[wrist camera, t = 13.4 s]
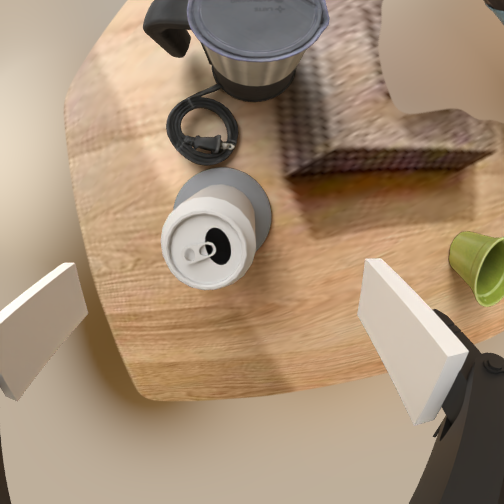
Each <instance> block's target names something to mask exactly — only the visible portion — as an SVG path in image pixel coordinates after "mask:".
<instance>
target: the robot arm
mask: <svg viewBox="0 0 504 504" xmlns="http://www.w3.org/2000/svg"><path fill="white" fill-rule="evenodd" d="M484 1H485V4H486V6H487V7H488V8H489V9H490V10H492V11H493V12H494V13H495V15H496V16H497V17H498V18H499V19H500V21H501V22H502V24H503V25H504V0H484ZM87 314H88V311H87V307H86V304H85V300H84V297H83V293H82V289H81V286H80V281H79V278H78V273H77V269H76V264H75V263H63V264H61V265H60V266H58V267H57V268H56V269H54V270H53V271H51V272H50V273H49V274H47V275H46V276H45V277H43V278H42V279H41V280H40V281H38V282H37V283H35V284H34V285H33V286H31V288H29V289H28V290H26V291H25V292H24V293H22V294H21V295H20V296H19V297H17V298H16V299H15V300H14V301H12V302H11V303H10V304H9V305H8V306H6V307H5V308H4V309H3V310H2V311H0V388H1V389H2V391H3V392H4V394H5V396H7V397H9V398H11V399H13V400H15V401H18V400H19V399H20V398H21V396H22V395H23V393H24V392H25V391H26V389H27V388H28V387H29V385H30V384H31V383H32V381H33V380H34V379H35V377H36V376H37V375H38V374H39V372H40V371H41V370H42V368H43V367H44V366H45V365H46V363H47V362H48V361H49V360H50V358H51V357H52V356H53V354H54V353H55V352H56V351H57V350H58V348H59V347H60V346H61V345H62V344H63V342H64V341H65V340H66V339H67V338H68V336H69V335H70V334H71V333H72V332H73V330H74V329H75V328H76V327H77V326H78V324H79V323H80V322H81V321H82V320H83V319H84V318H85V316H86V315H87ZM357 315H358V317H359V319H360V321H361V323H362V324H363V326H364V328H365V330H366V332H367V334H368V335H369V337H370V339H371V341H372V343H373V345H374V347H375V348H376V350H377V352H378V354H379V356H380V358H381V360H382V362H383V364H384V366H385V368H386V370H387V371H388V373H389V375H390V377H391V379H392V381H393V383H394V385H395V387H396V389H397V391H398V393H399V396H400V398H401V399H402V402H403V404H404V406H405V408H406V410H407V412H408V414H409V416H410V418H411V420H412V423H413V425H414V426H415V425H418V424H422V423H425V422H429V421H432V420H434V419H435V417H436V416H437V414H438V412H439V410H440V409H441V407H442V408H443V410H444V412H445V414H446V416H445V418H444V419H443V421H442V423H441V424H440V426H439V427H438V429H437V430H436V432H435V434H434V435H433V437H436V436H437V434H438V436H437V439H436V442H435V444H434V447H433V450H432V453H431V455H430V458H429V461H428V463H427V465H426V468H425V470H424V472H423V475H422V477H421V479H420V482H419V484H418V486H417V488H416V490H415V492H414V494H413V496H412V498H411V500H410V502H409V504H504V358H502V357H501V356H499V355H496V354H494V353H483V354H481V353H480V351H479V350H478V349H477V348H476V347H475V346H474V345H473V343H472V342H471V341H470V340H469V339H468V338H467V337H466V336H465V335H464V333H463V332H461V330H460V329H459V328H458V327H457V326H455V325H454V323H453V322H452V321H451V320H450V318H449V317H448V316H447V315H445V314H443V313H441V312H440V311H438V310H436V309H433V310H432V309H431V308H430V307H429V306H428V305H427V304H426V303H425V302H424V301H423V300H422V299H421V298H420V297H419V296H418V294H417V293H416V292H415V291H414V290H413V289H412V288H411V287H410V286H409V285H408V284H407V283H406V282H405V281H404V280H403V279H402V278H401V277H400V276H399V275H398V274H397V273H396V272H395V271H394V270H393V269H392V268H391V267H390V266H389V265H387V264H386V263H385V262H384V261H383V260H382V259H381V258H377V259H365V265H364V273H363V280H362V287H361V294H360V301H359V307H358V313H357ZM0 504H11V501H10V496H9V492H8V487H7V482H6V477H5V470H4V464H3V456H2V447H1V437H0Z"/></svg>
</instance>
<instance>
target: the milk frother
mask: <svg viewBox="0 0 504 504" xmlns="http://www.w3.org/2000/svg"><path fill="white" fill-rule="evenodd" d="M328 24H329V15H328V11H327V6H326V2H325V0H154V1H153V2H152V4H151V6H150V7H149V9H148V12H147V14H146V17H145V20H144V24H143V29H144V31H145V33H146V34H147V35H149V36H150V37H151V38H152V39H153V40H154V41H155V42H156V43H158V44H159V45H160V46H161V47H162V48H163V49H164V50H166V51H167V52H168V53H169V54H170V55H171V56H173V57H178V58H181V57H184V56H185V54H186V52H187V50H188V48H189V44H190V40H191V37H190V35H189V33H188V31H187V30H192V31H193V33H194V34H195V36H196V37H197V39H198V40H199V41H200V42H201V44H202V47H203V49H204V51H205V54H206V56H207V58H208V61H209V64H211V65H212V72H213V76H214V78H215V80H216V82H217V84H216V85H214V86H212V87H210V88H208V89H206V90H203V91H201V92H198V93H196V94H194V95H193V96H190V97H188V98H187V99H185V100H183V101H181V102H180V103H178V104H177V105H176V106H175V107H174V108H173V109H172V111H171V112H170V114H169V116H168V119H167V124H166V129H167V135H168V137H169V139H170V141H171V143H172V144H173V146H174V147H175V148H176V150H177V151H178V152H179V153H180V154H181V155H183V156H184V157H185V158H186V159H188V160H190V161H191V162H194V163H196V164H200V165H214V164H218V163H220V162H222V161H224V160H225V159H227V158H228V157H229V156H230V154H231V153H232V152H233V150H234V149H235V146H236V143H237V138H238V126H237V122H236V120H235V119H234V117H233V115H232V113H231V112H230V111H229V109H228V108H227V107H225V106H224V105H223V104H221V103H220V102H218V101H216V100H213V99H209V98H203V97H201V96H203V95H206V94H208V93H212V92H214V91H217V90H219V89H222V90H223V91H224V92H226V93H227V94H229V95H230V96H232V97H234V98H236V99H239V100H243V101H248V102H261V101H266V100H269V99H272V98H274V97H276V96H278V95H280V94H281V93H282V92H284V91H285V90H286V89H287V88H288V86H289V85H290V84H291V82H292V80H293V78H294V75H295V69H296V67H297V65H298V63H299V61H300V60H301V58H302V56H303V55H304V53H305V51H306V50H307V48H309V47H310V46H311V45H312V44H313V43H314V42H315V41H317V39H318V38H319V36H320V35H321V33H322V32H323V31H324V30H325V29H326V27H327V26H328ZM186 29H187V30H186ZM196 108H206V109H209V110H211V111H213V112H215V113H216V114H217V115H218V116H219V117H220V118H221V119H222V120H223V122H224V123H225V126H226V128H227V134H228V139H227V142H222V141H221V136H220V135H217V136H215V137H200V136H196V137H190V136H185V135H184V134H183V133H182V131H181V121H182V119H183V117H184V116H185V115H186V114H187V113H188V112H189V111H191V110H193V109H196ZM192 146H193V147H194V148H193V147H192ZM197 148H200V149H204V150H209V151H211V154H205V153H202V152H199V151H196V149H197Z"/></svg>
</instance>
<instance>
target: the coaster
mask: <svg viewBox="0 0 504 504" xmlns="http://www.w3.org/2000/svg"><path fill="white" fill-rule="evenodd" d="M220 184H224V185H228V186H232V187H235V188H236V189H238V190H240V191H241V192H243V193H244V194H245V195H246V197H247V198H248V199H249V200H250V202H251V204H252V207H253V209H254V213H255V235H256V251H257V250H258V249H259V248H260V247H261V245H262V244H263V243H264V241H265V239H266V237H267V235H268V232H269V230H270V225H271V208H270V204H269V201H268V198H267V196H266V194H265V192H264V190H263V189H262V187H261V186H260V185H259V184H258V182H257V181H256V180H254V179H253V178H252V177H251V176H249V175H248V174H246V173H244V172H242V171H239V170H236V169H233V168H226V167H219V168H212V169H208V170H205V171H202V172H200V173H198V174H196V175H195V176H193V177H192V178H191V179H189V180H188V181H187V182H186V183H185V184H184V186H183V187H182V188H181V190H180V191H179V193H178V195H177V198H176V200H175V204H174V209H173V211H174V210H175V209H176V208H177V207H178V206H179V205H180V204H181V203H183V202H184V201H186V200H187V199H189V198H190V197H191V196H193V195H194V194H196V193H197V192H199V191H200V190H202V189H204V188H206V187H209V186H211V185H220ZM256 251H255V252H256Z"/></svg>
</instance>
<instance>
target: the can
mask: <svg viewBox="0 0 504 504" xmlns="http://www.w3.org/2000/svg"><path fill="white" fill-rule="evenodd" d="M161 247H162V253H163V257H164V259H165V261H166V263H167V265H168V267H169V269H170V271H171V272H172V273H173V274H174V275H175V276H176V278H177V279H178V280H179V281H181V282H183V283H184V284H186V285H188V286H190V287H192V288H196V289H200V290H216V289H220V288H223V287H225V286H228V285H231V284H233V283H235V282H236V281H237V280H239V279H240V278H241V277H243V276H244V275H245V273H246V272H247V270H248V269H249V267H250V266H251V264H252V262H253V258H254V255H255V251H256V235H255V213H254V209H253V207H252V204H251V202H250V200H249V199H248V198H247V197H246V195H245V194H244V193H243V192H241V191H240V190H238V189H236V188H235V187H232V186H228V185H224V184H220V185H211V186H209V187H206V188H204V189H202V190H200V191H199V192H197V193H196V194H194V195H193V196H191V197H190V198H189V199H187V200H186V201H184V202H183V203H181V204H180V205H179V206H178V207H177V208H176V209H175V210H174V211H173V212H172V213H170V214H169V216H168V218H167V220H166V222H165V224H164V226H163V229H162V235H161Z"/></svg>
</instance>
